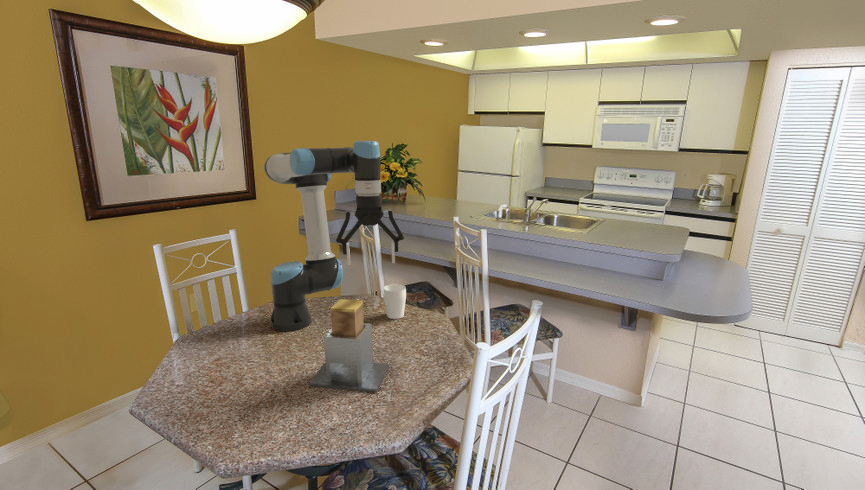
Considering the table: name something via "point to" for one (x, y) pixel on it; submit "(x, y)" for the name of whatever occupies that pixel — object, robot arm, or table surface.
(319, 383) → the chute
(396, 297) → the cup
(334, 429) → the table surface
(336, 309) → the block
